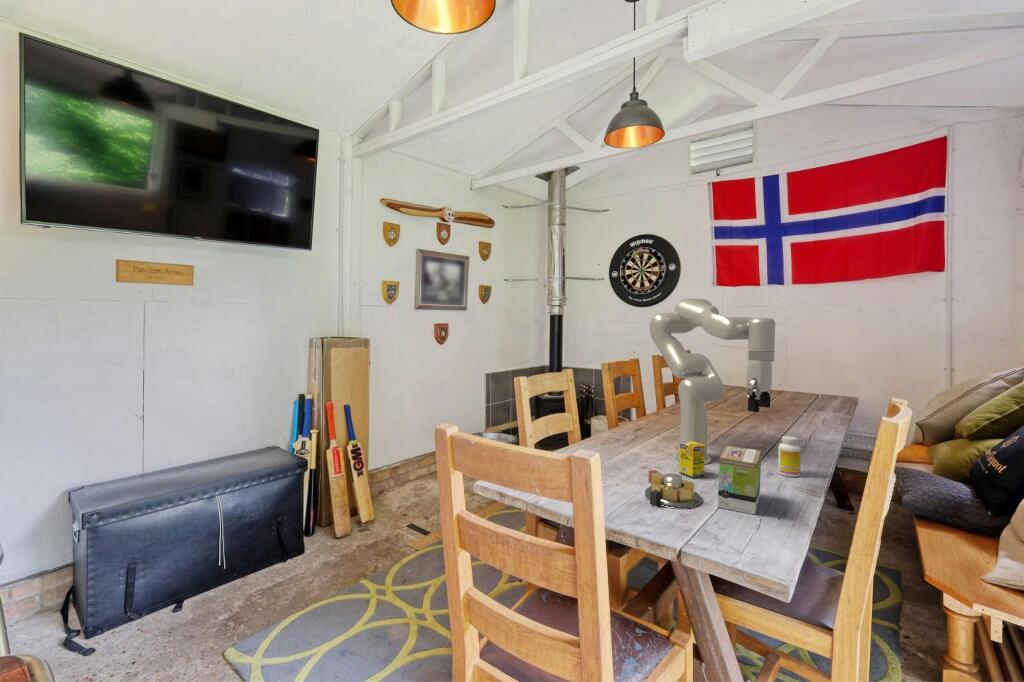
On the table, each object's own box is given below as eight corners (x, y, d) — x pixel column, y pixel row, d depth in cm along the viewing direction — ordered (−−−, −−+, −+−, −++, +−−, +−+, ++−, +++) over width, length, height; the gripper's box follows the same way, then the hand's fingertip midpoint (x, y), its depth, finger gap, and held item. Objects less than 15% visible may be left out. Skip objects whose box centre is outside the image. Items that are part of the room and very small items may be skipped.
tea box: (756, 515, 125) (757, 462, 125) (716, 507, 131) (717, 456, 130) (760, 497, 138) (761, 449, 137) (724, 490, 144) (724, 444, 143)
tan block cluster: (636, 483, 146) (636, 470, 146) (667, 479, 150) (667, 467, 150) (668, 503, 131) (668, 489, 130) (702, 498, 134) (702, 484, 134)
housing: (630, 492, 143) (630, 471, 142) (677, 485, 148) (678, 465, 148) (661, 512, 127) (662, 489, 127) (713, 504, 133) (714, 482, 132)
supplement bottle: (803, 478, 154) (804, 440, 153) (781, 477, 155) (782, 439, 155) (795, 471, 161) (796, 435, 160) (774, 470, 162) (775, 434, 161)
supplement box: (692, 479, 154) (693, 447, 153) (678, 473, 159) (679, 442, 159) (705, 476, 157) (705, 444, 156) (690, 471, 162) (691, 440, 161)
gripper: (758, 354, 155) (756, 404, 156) (737, 357, 144) (736, 411, 145) (782, 355, 150) (781, 407, 151) (763, 359, 138) (761, 415, 139)
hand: (759, 409), depth 148 cm, fingers open, 9 cm apart
